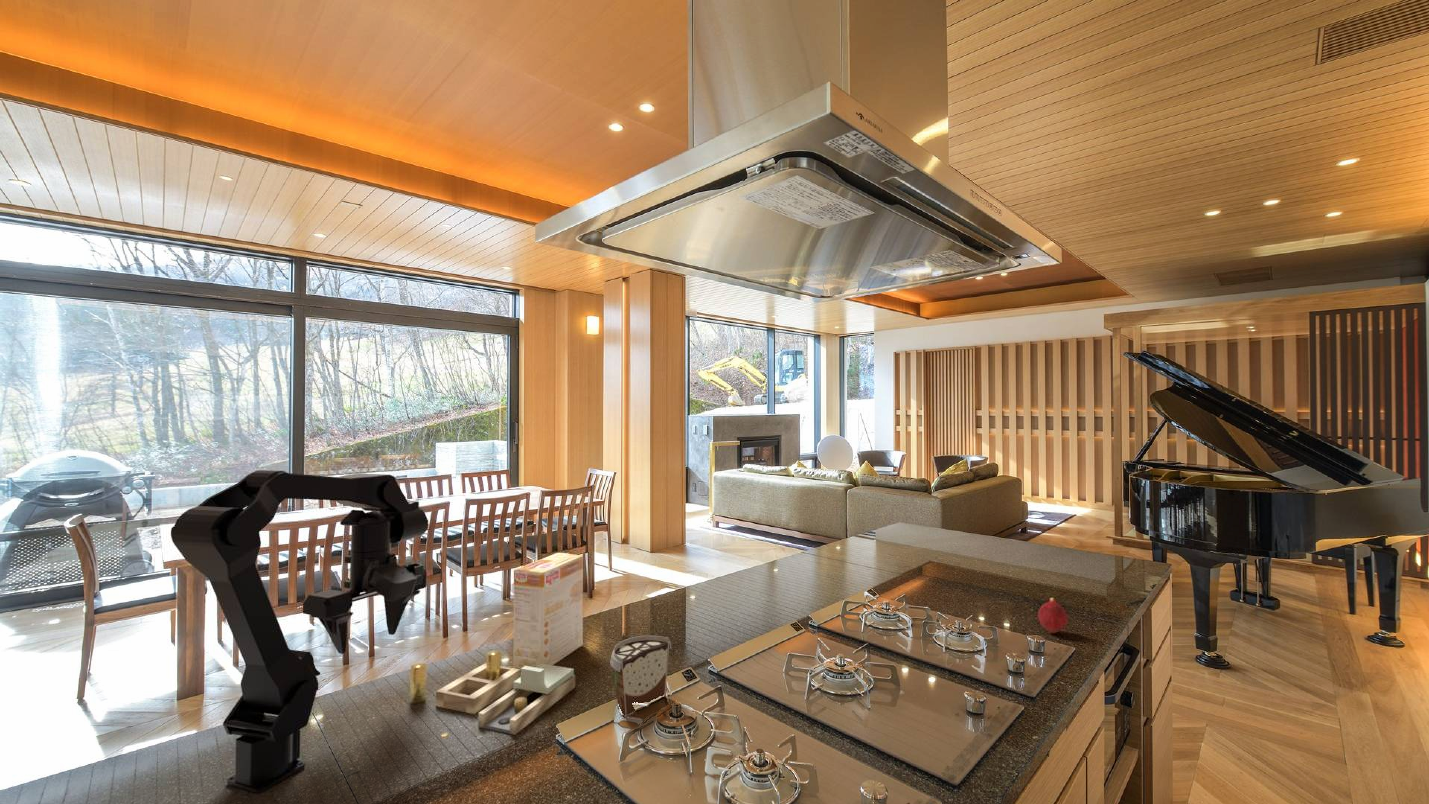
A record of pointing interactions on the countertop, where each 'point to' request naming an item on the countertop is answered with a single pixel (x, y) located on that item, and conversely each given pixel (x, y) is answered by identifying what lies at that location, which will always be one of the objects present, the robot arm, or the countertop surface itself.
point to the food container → (640, 670)
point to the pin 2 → (493, 665)
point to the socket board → (476, 689)
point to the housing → (520, 708)
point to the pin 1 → (418, 683)
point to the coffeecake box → (548, 610)
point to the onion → (1052, 616)
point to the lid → (542, 678)
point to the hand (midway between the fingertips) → (367, 643)
